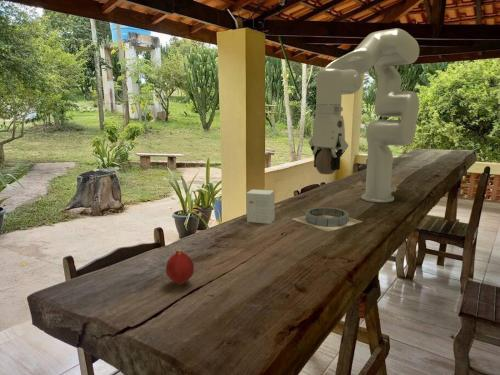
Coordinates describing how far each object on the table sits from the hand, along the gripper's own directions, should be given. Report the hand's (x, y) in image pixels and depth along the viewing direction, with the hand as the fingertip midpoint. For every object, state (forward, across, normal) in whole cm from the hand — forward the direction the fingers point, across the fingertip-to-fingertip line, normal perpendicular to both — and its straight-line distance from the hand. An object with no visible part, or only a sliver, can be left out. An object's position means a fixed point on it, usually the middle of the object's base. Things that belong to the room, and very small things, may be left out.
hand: (326, 167), depth 113 cm
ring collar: (+17, -1, 0) cm, 17 cm away
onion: (+18, -13, +56) cm, 61 cm away
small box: (+18, +12, +18) cm, 28 cm away
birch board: (+18, -1, 0) cm, 18 cm away
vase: (+2, 0, 0) cm, 2 cm away
